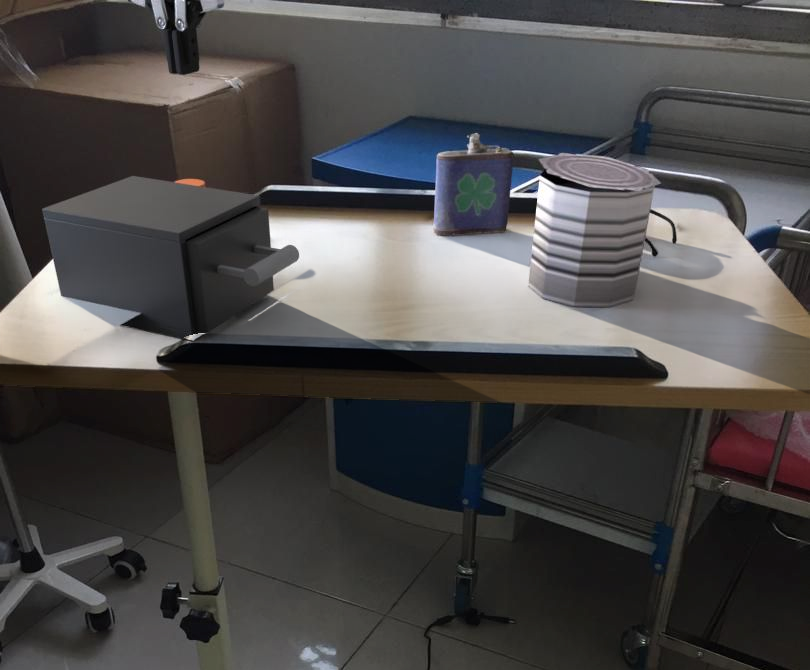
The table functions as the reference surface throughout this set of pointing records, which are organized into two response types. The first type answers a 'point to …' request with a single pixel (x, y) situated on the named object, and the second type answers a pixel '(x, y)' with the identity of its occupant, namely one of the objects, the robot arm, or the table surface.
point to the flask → (472, 189)
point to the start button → (192, 182)
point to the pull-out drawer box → (233, 266)
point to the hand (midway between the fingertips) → (184, 72)
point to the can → (589, 229)
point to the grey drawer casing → (137, 247)
